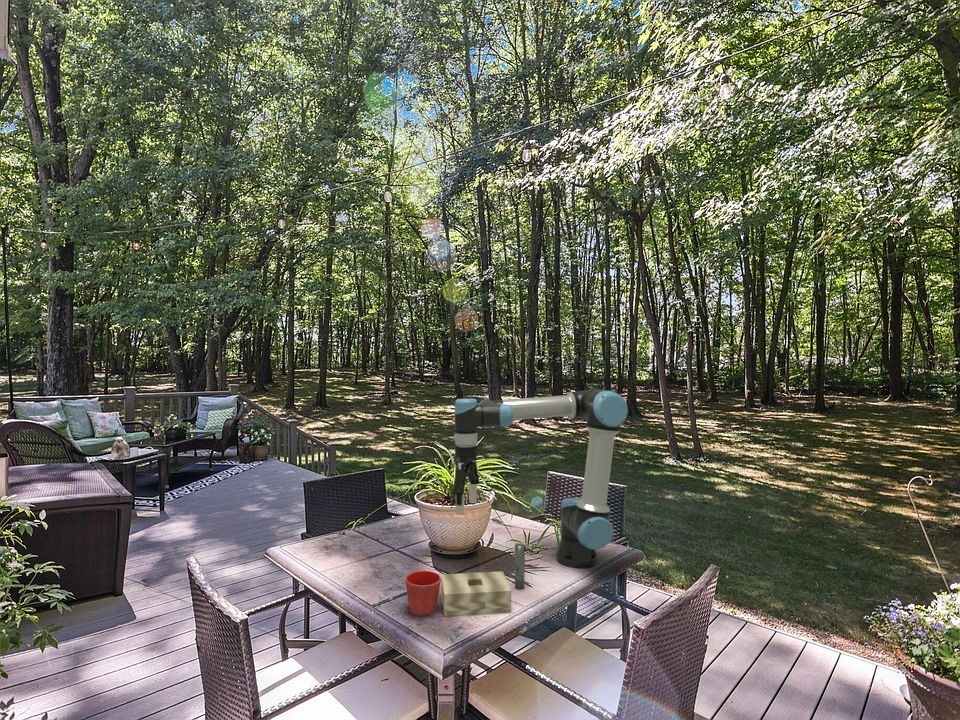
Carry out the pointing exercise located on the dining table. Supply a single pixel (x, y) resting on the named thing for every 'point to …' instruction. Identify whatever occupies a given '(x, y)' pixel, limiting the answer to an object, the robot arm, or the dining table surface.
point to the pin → (519, 566)
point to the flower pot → (422, 591)
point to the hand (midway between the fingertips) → (466, 508)
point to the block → (475, 593)
